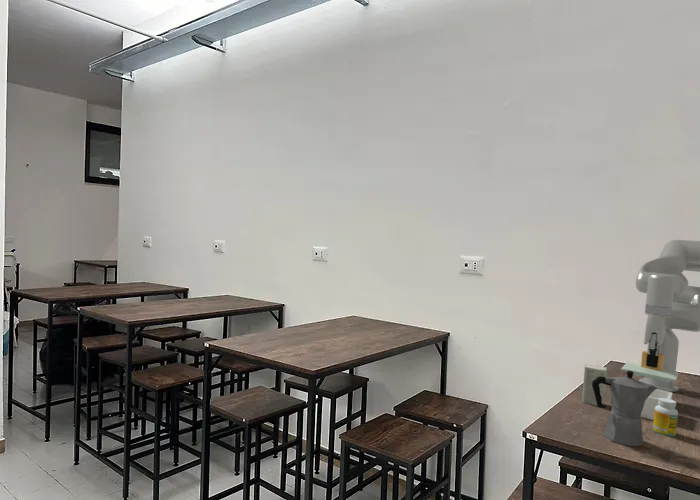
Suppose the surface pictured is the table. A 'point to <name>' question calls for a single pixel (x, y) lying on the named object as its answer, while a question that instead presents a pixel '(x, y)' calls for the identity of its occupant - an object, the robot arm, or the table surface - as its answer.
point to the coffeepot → (624, 407)
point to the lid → (651, 369)
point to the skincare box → (590, 375)
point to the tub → (653, 403)
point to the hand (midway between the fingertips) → (652, 365)
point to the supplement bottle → (665, 417)
